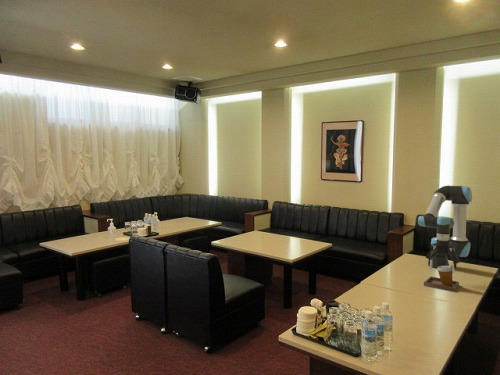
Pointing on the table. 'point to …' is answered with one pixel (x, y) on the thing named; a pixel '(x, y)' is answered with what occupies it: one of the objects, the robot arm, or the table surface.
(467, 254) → the robot arm
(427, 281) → the walnut tray
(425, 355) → the table surface
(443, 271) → the disposable coffee cup
